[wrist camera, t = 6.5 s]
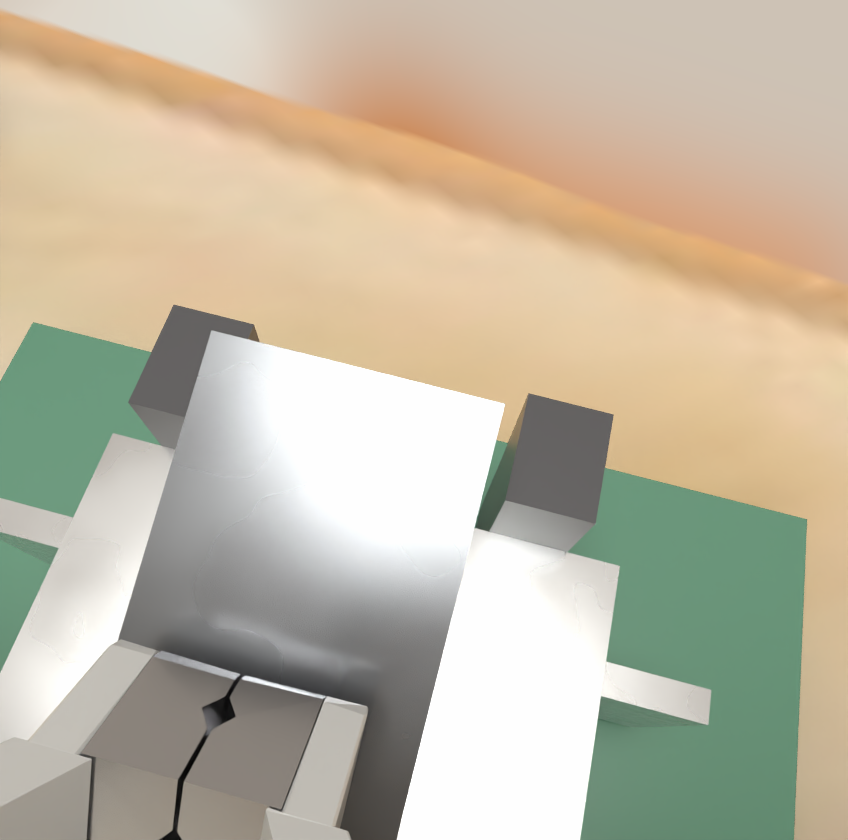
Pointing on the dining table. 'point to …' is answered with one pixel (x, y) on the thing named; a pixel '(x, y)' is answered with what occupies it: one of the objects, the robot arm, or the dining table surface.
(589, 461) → the posts
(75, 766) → the robot arm
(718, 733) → the circuit board
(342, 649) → the steel strap
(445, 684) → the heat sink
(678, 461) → the dining table surface
